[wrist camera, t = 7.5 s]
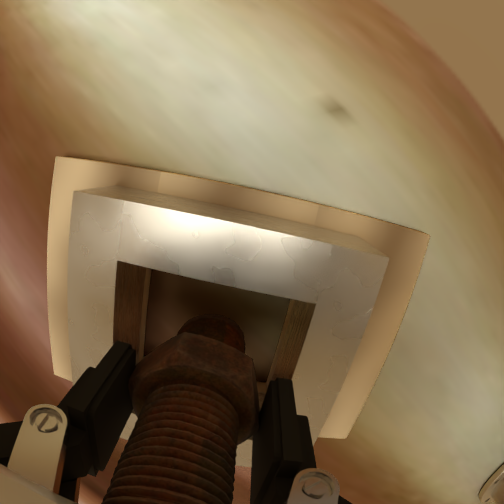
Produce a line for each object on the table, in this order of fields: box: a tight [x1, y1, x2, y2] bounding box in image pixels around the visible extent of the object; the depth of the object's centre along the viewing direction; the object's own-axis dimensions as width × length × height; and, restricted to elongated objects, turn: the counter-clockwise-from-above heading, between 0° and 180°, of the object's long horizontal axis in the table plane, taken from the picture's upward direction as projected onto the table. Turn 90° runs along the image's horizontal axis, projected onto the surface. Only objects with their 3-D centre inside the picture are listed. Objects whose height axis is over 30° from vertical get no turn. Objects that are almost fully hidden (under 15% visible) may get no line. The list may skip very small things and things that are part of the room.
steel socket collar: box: [67, 185, 389, 467], centre depth 14 cm, size 12×12×4 cm
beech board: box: [47, 156, 430, 439], centre depth 17 cm, size 20×14×1 cm
